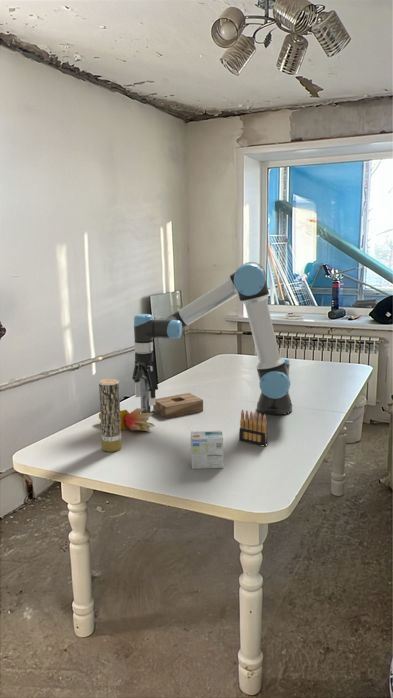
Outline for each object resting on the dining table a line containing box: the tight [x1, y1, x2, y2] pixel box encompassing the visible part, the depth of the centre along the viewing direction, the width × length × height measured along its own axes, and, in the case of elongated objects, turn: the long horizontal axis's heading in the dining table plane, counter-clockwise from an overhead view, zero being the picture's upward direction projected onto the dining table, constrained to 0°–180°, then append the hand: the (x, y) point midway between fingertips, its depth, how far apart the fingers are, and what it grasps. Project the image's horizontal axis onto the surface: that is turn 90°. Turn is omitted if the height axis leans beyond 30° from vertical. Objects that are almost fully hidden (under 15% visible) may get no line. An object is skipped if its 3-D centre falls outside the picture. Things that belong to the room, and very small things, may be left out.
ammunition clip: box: [238, 409, 268, 447], centre depth 191 cm, size 11×2×12 cm, turn 58°
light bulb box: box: [190, 430, 225, 470], centre depth 173 cm, size 11×7×11 cm, turn 92°
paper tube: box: [98, 378, 122, 453], centre depth 185 cm, size 7×7×25 cm
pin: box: [139, 376, 152, 414], centre depth 221 cm, size 4×4×16 cm
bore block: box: [152, 392, 204, 419], centre depth 227 cm, size 12×18×5 cm, turn 121°
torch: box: [98, 407, 156, 433], centre depth 207 cm, size 8×8×25 cm
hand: (145, 400), depth 222 cm, fingers open, 13 cm apart
